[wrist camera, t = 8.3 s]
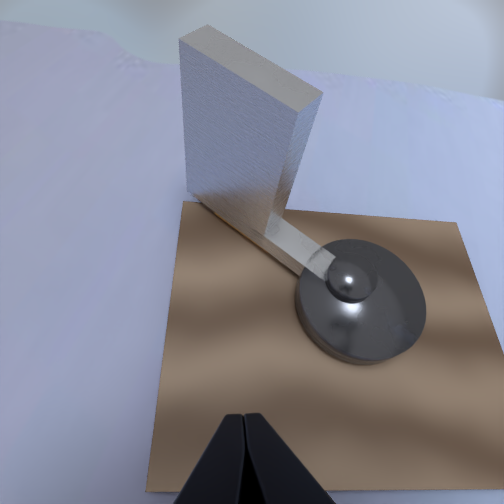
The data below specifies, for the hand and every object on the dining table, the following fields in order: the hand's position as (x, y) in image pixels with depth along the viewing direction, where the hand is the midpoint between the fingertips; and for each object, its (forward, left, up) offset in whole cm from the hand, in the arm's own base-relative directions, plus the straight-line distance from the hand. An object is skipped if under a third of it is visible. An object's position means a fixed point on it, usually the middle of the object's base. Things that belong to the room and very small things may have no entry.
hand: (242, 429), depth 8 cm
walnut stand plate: (+10, -2, -13) cm, 17 cm away
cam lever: (+12, +3, -11) cm, 17 cm away
